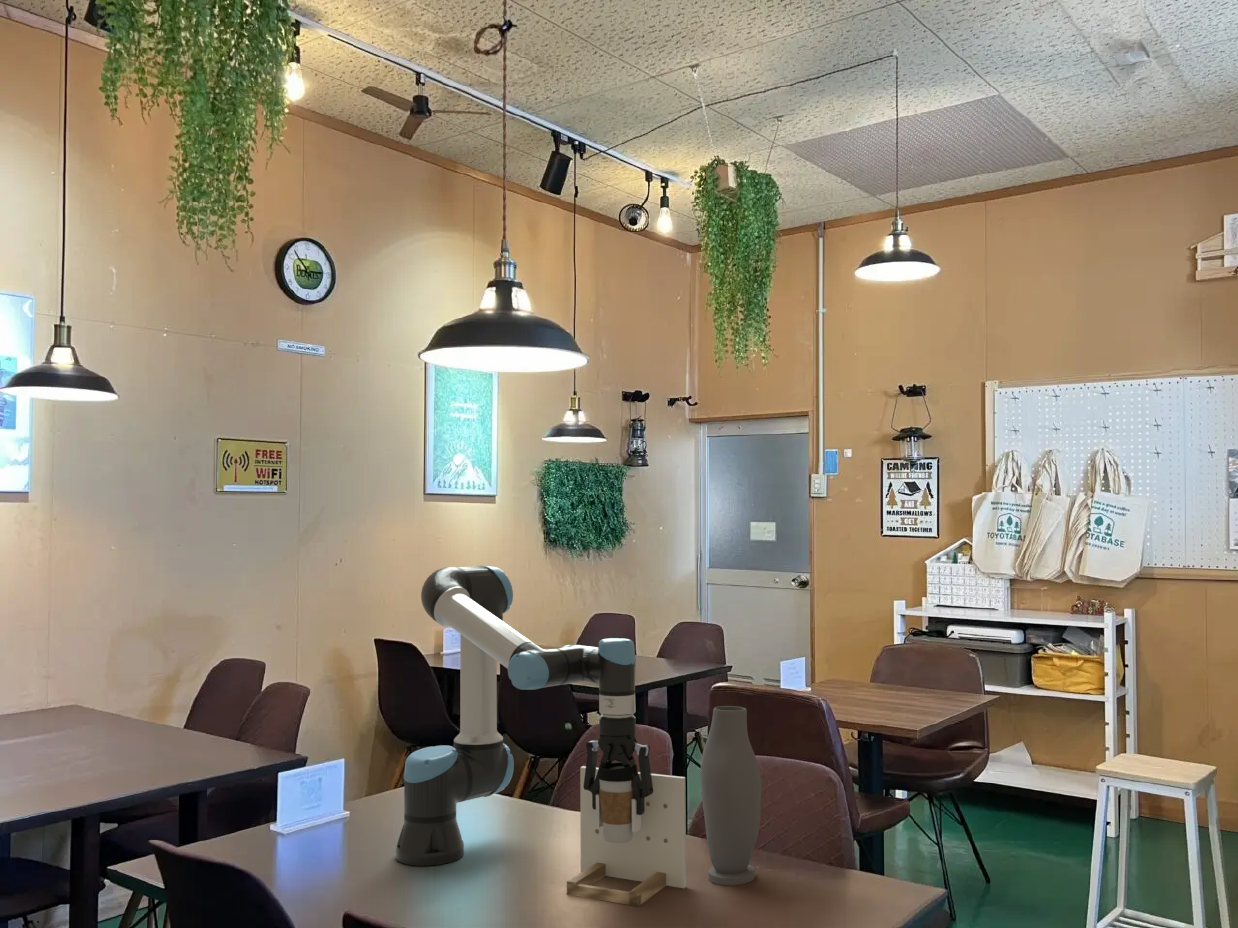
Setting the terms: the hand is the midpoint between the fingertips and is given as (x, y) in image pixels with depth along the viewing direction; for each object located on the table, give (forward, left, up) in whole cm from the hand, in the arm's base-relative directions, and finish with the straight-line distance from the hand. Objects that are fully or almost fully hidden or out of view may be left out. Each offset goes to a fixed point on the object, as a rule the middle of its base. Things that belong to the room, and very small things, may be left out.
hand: (618, 827), depth 209 cm
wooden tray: (0, -1, -12) cm, 12 cm away
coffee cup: (0, 0, -2) cm, 2 cm away
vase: (+18, +17, -12) cm, 28 cm away
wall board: (0, +7, -12) cm, 14 cm away
